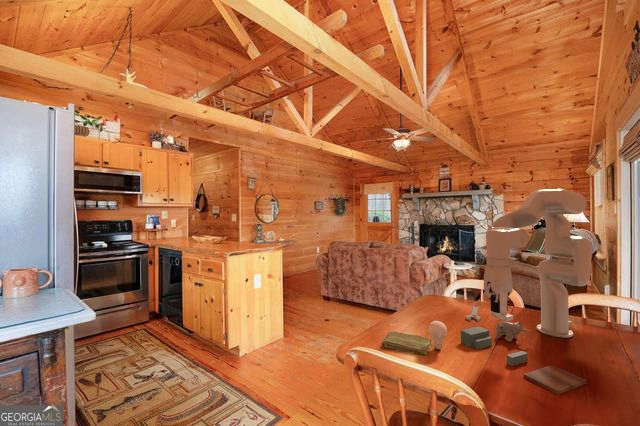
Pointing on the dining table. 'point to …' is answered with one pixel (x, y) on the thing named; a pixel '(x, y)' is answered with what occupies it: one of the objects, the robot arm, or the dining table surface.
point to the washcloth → (407, 343)
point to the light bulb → (437, 333)
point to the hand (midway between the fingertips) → (499, 310)
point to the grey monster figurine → (509, 330)
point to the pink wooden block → (502, 308)
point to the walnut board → (555, 379)
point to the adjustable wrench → (474, 314)
